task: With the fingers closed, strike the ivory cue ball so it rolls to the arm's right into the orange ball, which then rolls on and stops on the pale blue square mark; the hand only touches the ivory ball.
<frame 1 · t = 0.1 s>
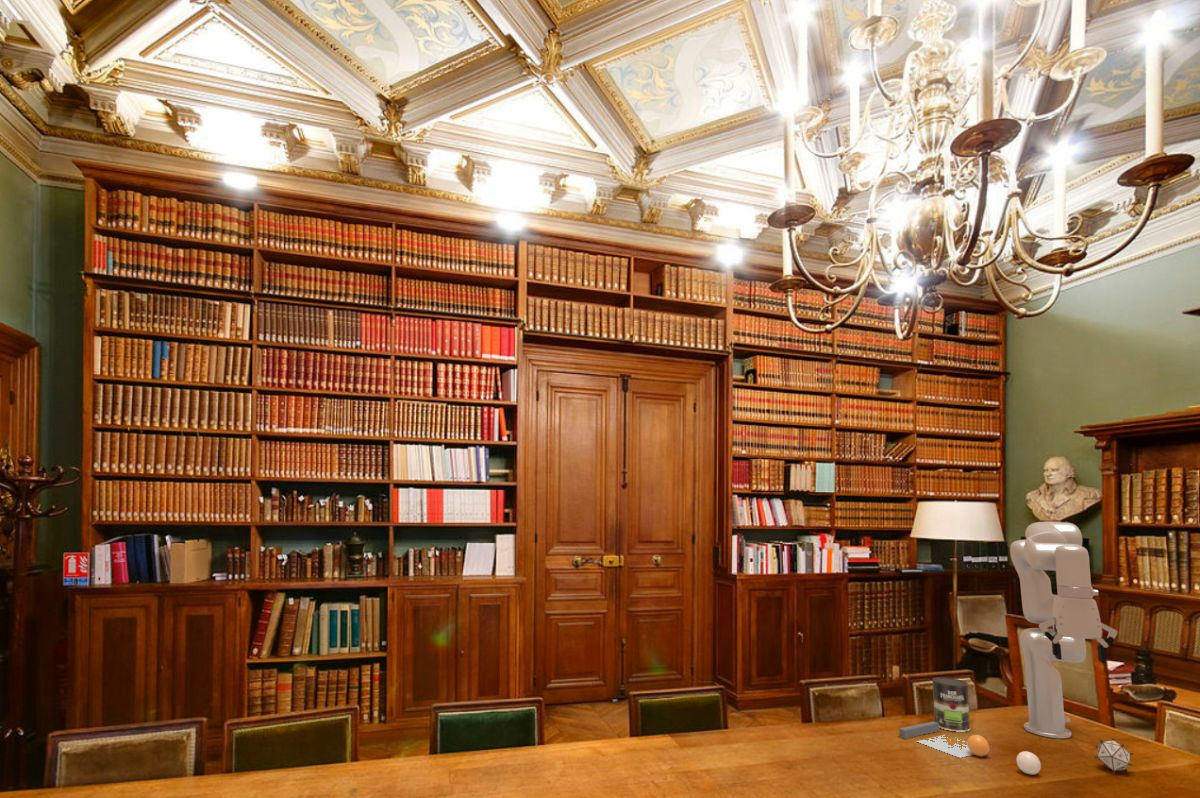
hand: (1080, 660, 175), 31 cm above the table, tool pointing down, fingers open, 9 cm apart
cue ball: (1028, 762, 179), on the table
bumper: (919, 734, 207), on the table
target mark: (952, 746, 198), on the table
coffee can: (952, 727, 215), on the table
game die: (1114, 771, 182), on the table
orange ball: (978, 745, 191), on the table
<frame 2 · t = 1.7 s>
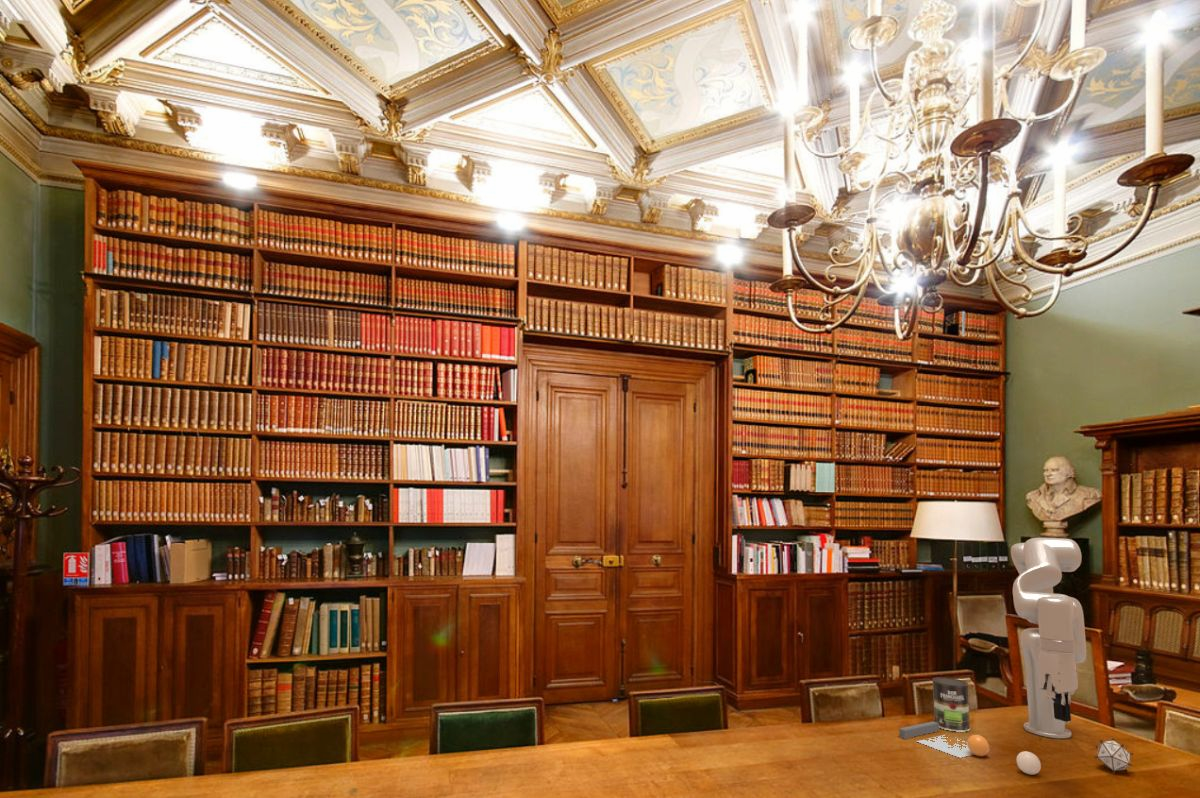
hand: (1062, 719, 172), 16 cm above the table, tool pointing down, fingers closed
nothing on the table moved.
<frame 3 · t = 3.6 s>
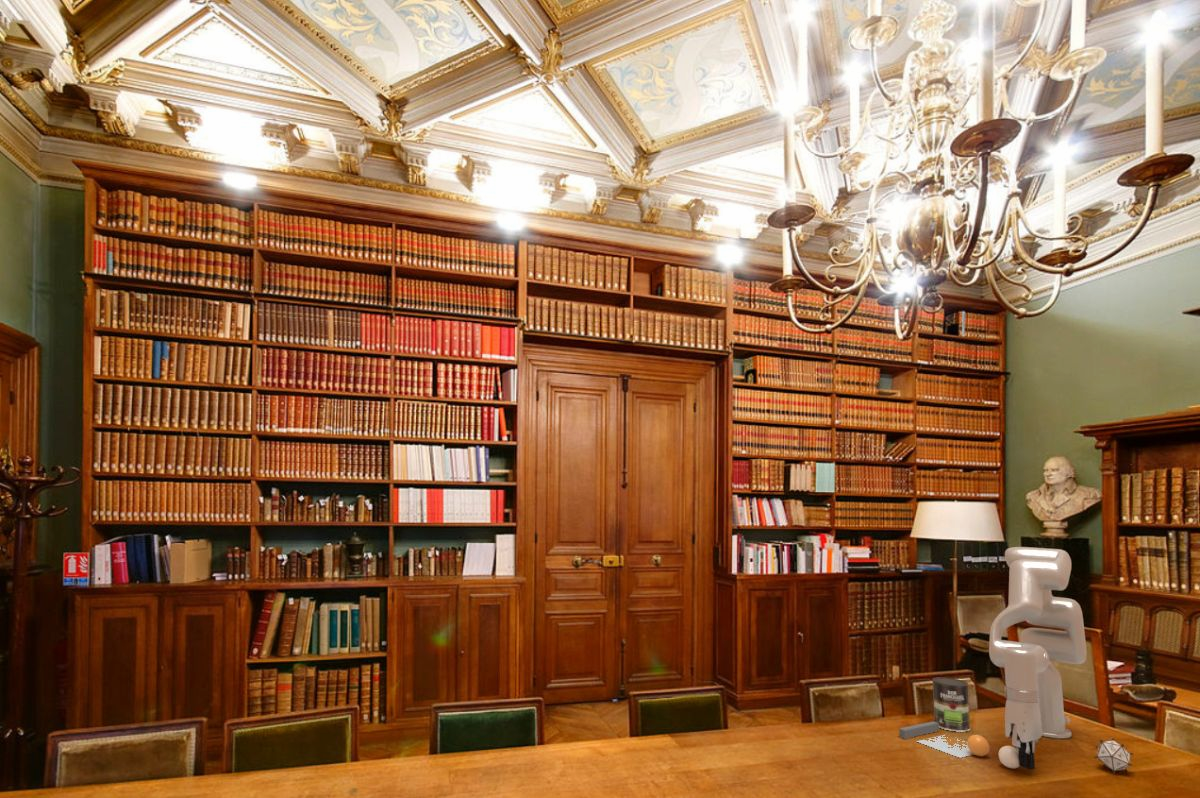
hand: (1027, 767, 179), 2 cm above the table, tool pointing down, fingers closed
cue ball: (1010, 757, 183), on the table
everything else where it was.
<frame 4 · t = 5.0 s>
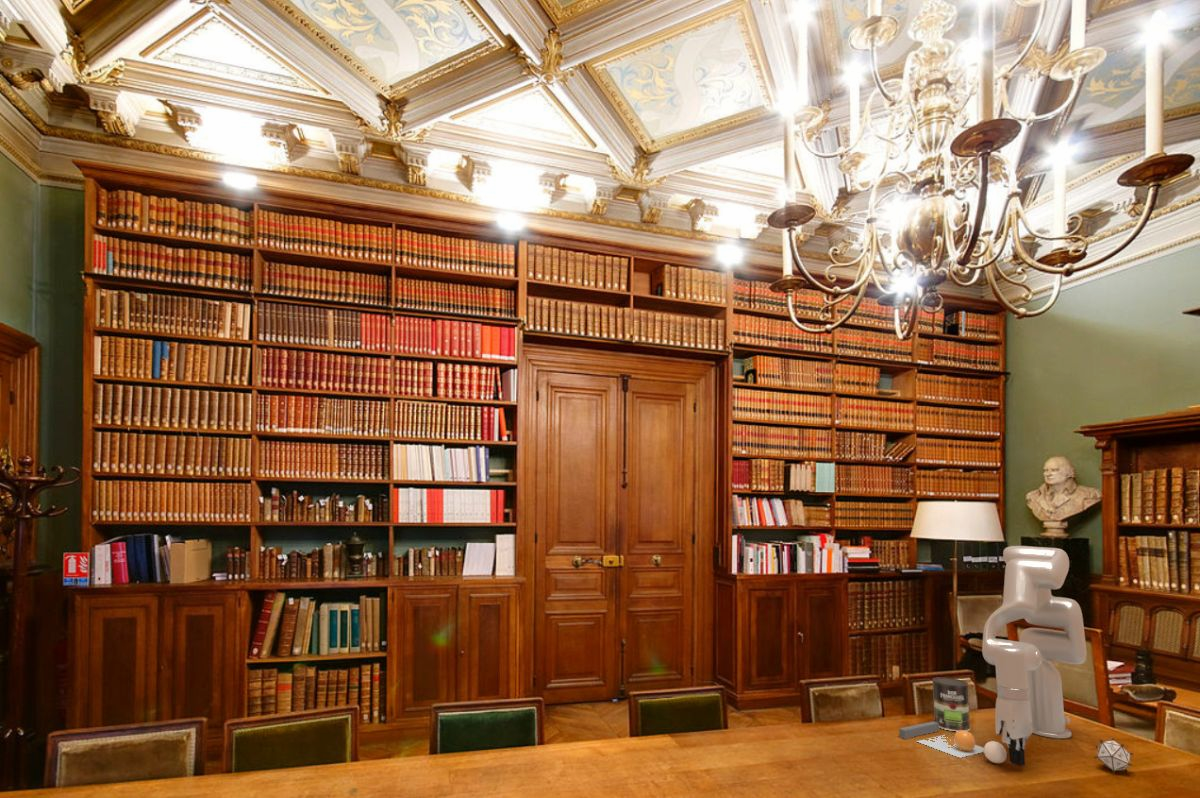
hand: (1017, 763, 181), 2 cm above the table, tool pointing down, fingers closed
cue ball: (995, 752, 186), on the table
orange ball: (964, 740, 195), on the table
everything else where it was.
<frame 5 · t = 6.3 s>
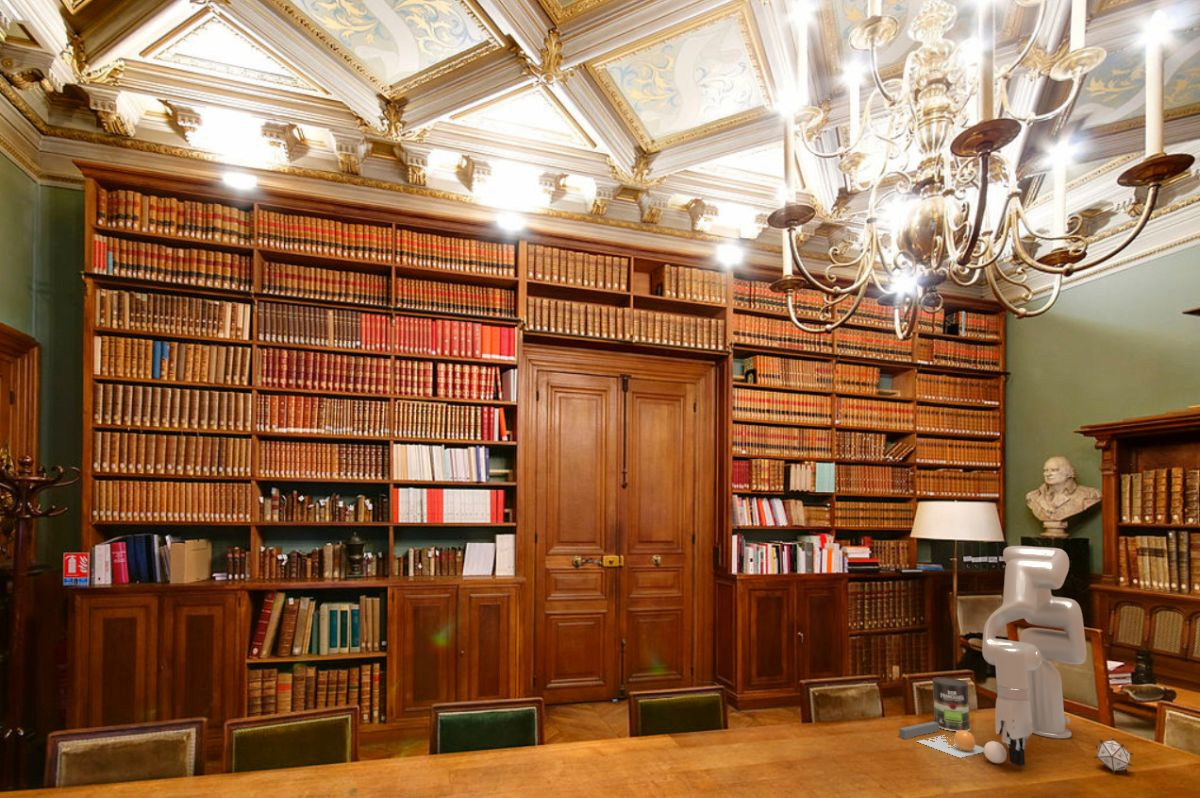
hand: (1017, 763, 181), 2 cm above the table, tool pointing down, fingers closed
nothing on the table moved.
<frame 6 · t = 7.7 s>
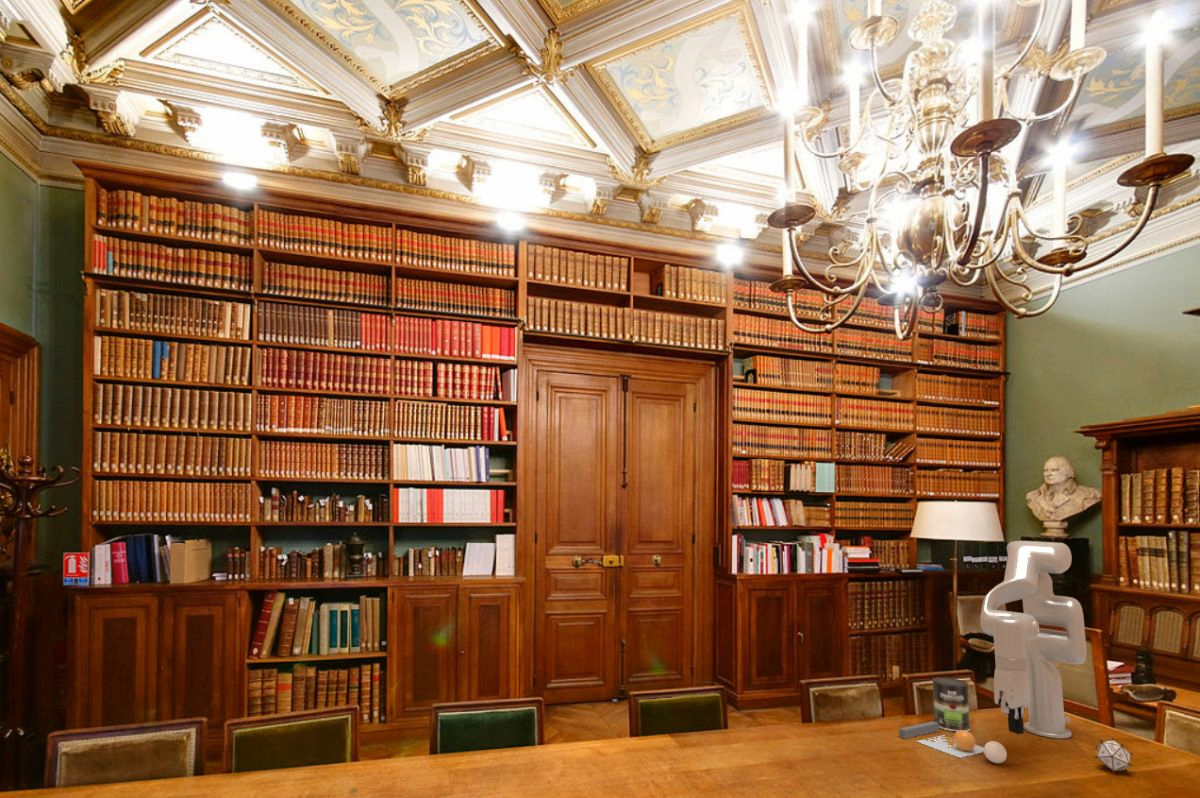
hand: (1016, 732, 183), 9 cm above the table, tool pointing down, fingers closed
nothing on the table moved.
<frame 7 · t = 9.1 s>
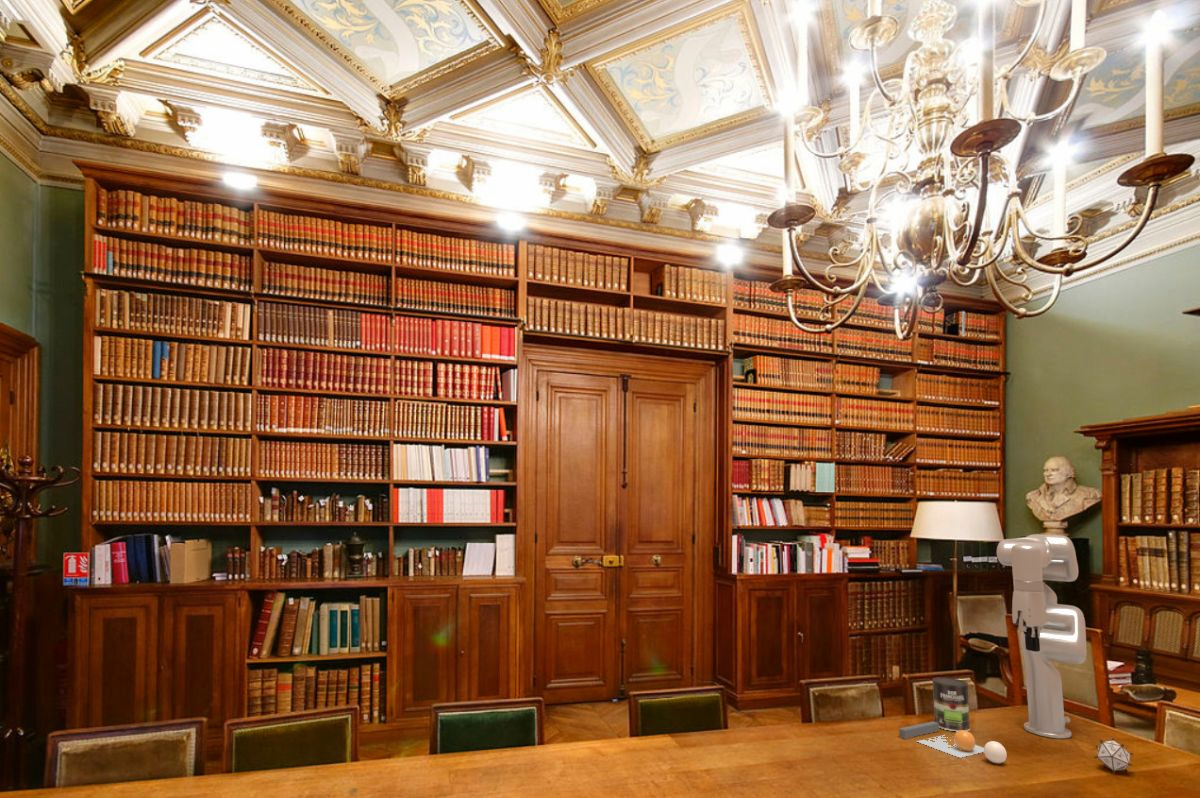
hand: (1032, 650, 197), 29 cm above the table, tool pointing down, fingers closed
nothing on the table moved.
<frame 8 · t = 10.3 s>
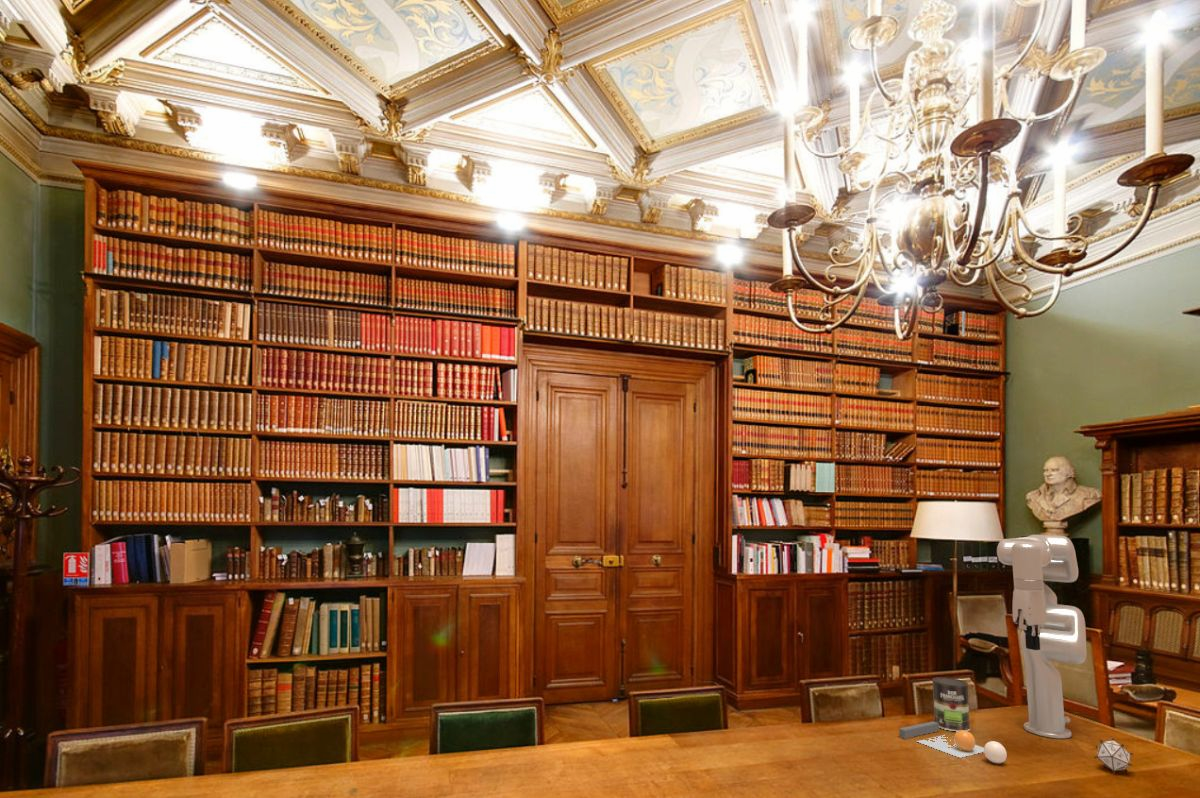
hand: (1033, 649, 197), 29 cm above the table, tool pointing down, fingers closed
nothing on the table moved.
at the end: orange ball 3.9 cm from the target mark (horizontally); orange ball never touched the robot; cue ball first touched orange ball at 3.8 s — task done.
